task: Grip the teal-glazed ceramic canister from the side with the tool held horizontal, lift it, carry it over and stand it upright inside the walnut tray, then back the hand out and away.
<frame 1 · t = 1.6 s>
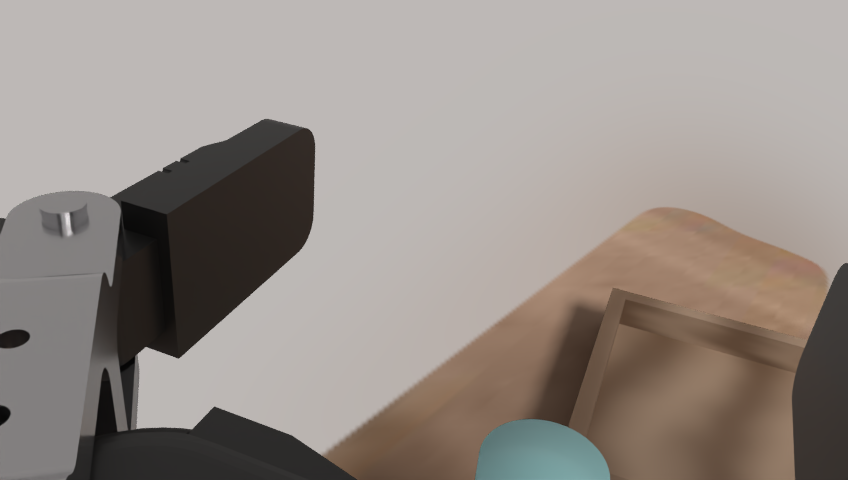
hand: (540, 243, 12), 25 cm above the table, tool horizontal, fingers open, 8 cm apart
walnut tray: (734, 451, 44), on the table
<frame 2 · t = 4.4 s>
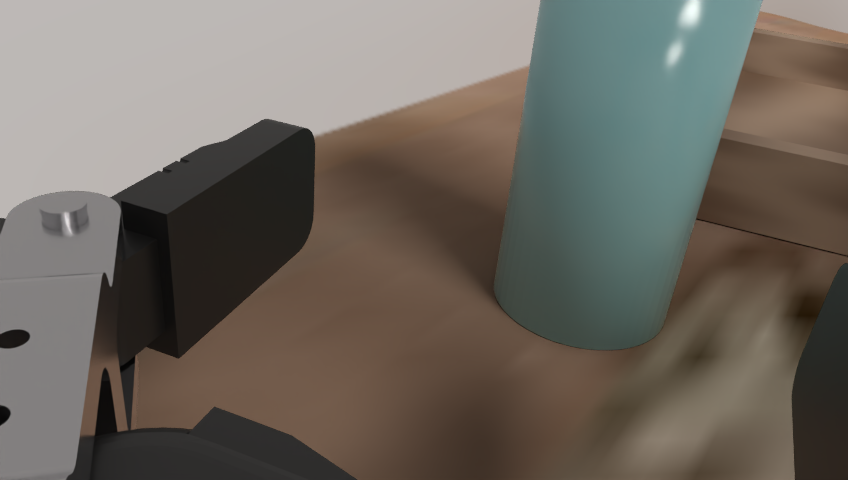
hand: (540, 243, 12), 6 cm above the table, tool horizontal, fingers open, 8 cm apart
teal canister: (578, 296, 22), on the table
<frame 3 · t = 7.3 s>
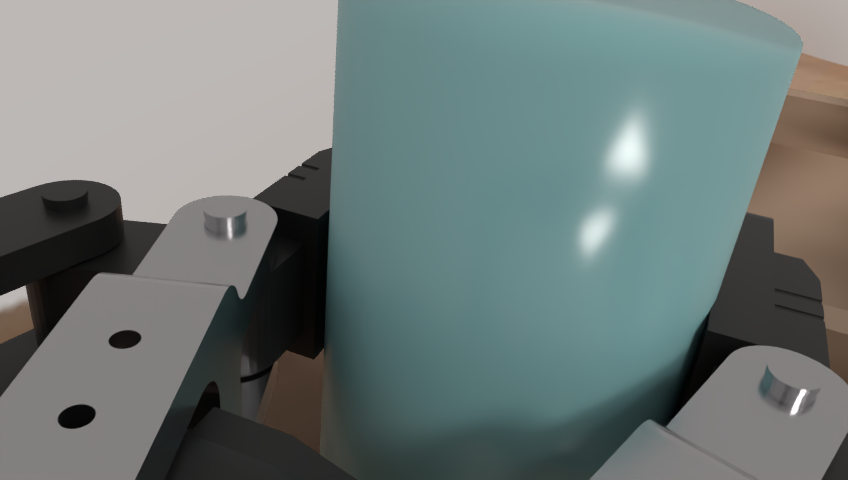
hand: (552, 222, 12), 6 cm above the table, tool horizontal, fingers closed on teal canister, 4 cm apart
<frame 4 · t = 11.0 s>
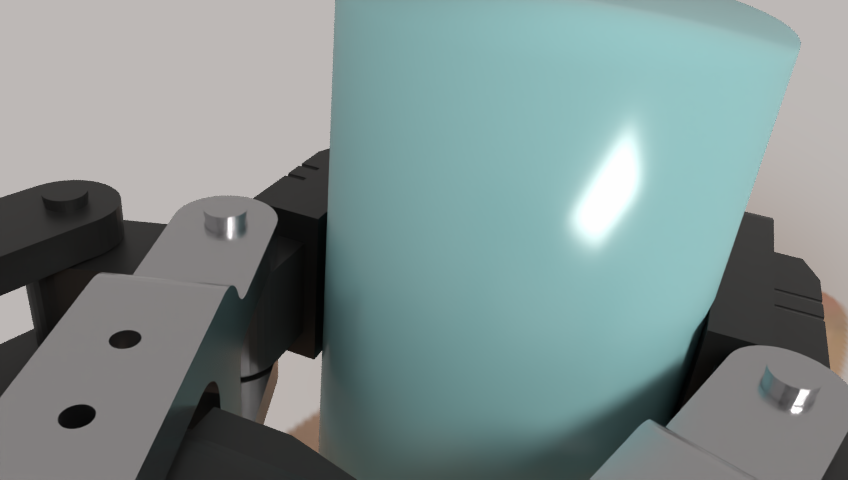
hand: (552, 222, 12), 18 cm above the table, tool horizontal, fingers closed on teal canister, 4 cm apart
when the fingers open (8 cm above the table, at t = 14.8 s): teal canister drops 1 cm, resting on walnut tray.
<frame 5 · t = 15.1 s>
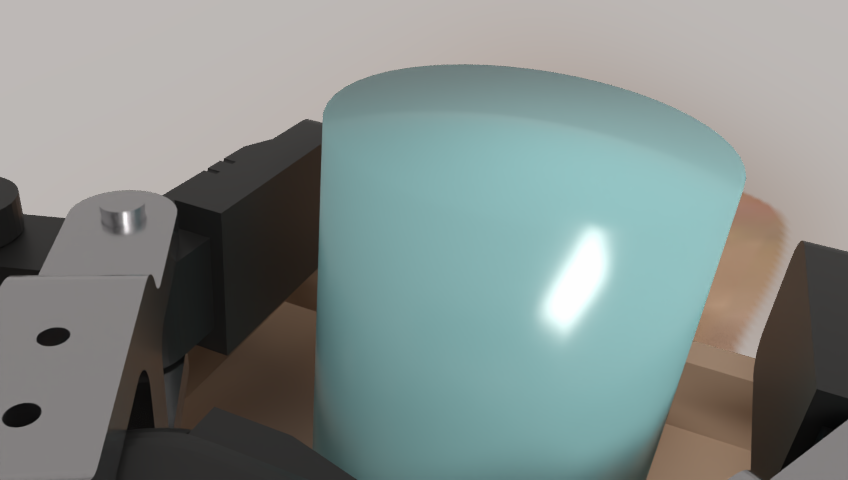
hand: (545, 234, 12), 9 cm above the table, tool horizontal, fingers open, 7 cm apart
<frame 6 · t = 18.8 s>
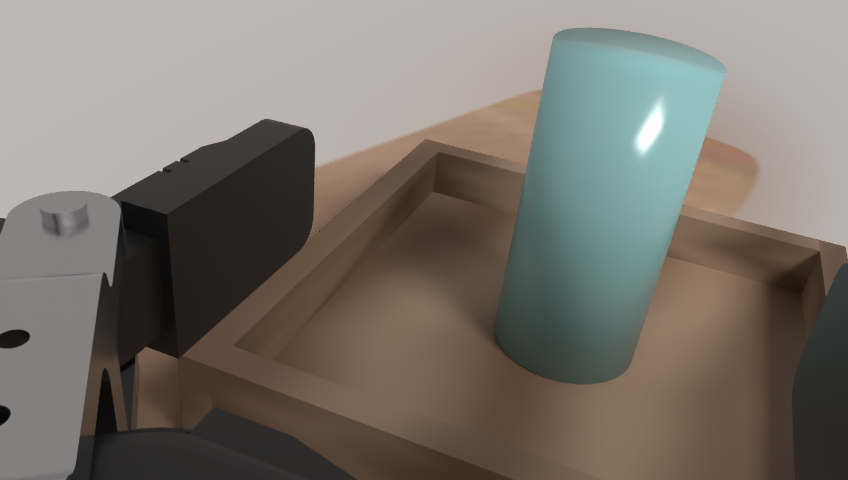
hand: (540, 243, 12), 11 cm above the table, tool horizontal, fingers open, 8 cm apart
walnut tray: (559, 361, 27), on the table
teal canister: (562, 337, 27), point 1 cm above the table, touching walnut tray
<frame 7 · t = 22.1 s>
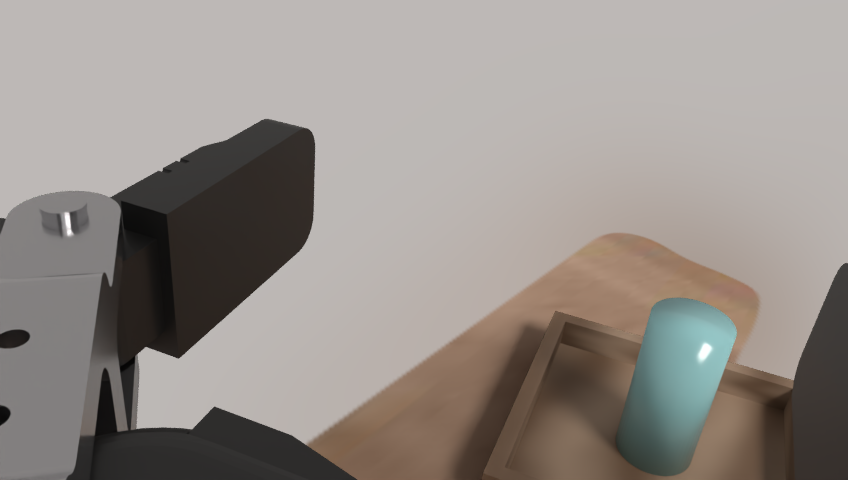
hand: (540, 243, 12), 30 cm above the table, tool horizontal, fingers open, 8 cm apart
walnut tray: (650, 458, 50), on the table
teal canister: (653, 447, 50), point 1 cm above the table, touching walnut tray
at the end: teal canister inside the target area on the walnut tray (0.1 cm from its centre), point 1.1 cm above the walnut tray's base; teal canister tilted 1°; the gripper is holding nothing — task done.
